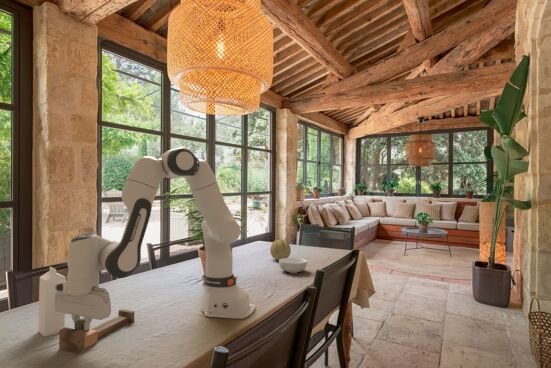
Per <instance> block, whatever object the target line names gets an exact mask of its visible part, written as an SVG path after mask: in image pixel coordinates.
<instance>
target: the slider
mask: <svg viewBox="0 0 551 368" xmlns="http://www.w3.org/2000/svg"><path fill="white" fill-rule="evenodd" d="M84 323H85V320H84V317H82V318H80V320H78V321H76V322H75V328H74V329H76V330H81V331H85V347H84V350H85V349H87V348H89V347H90V346H92V345H95V344H97V343H98V340H97V331H96V330H91V329H92V328H89V329H88V330H82V324H84Z"/></svg>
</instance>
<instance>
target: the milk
mask: <svg viewBox="0 0 551 368" xmlns="http://www.w3.org/2000/svg"><path fill="white" fill-rule="evenodd" d="M66 280H67V276H65V275H62V274H61V273H58V272H57V268H54V267H52V266H49V271H47V272H45V273H44V274H43V275H41V276H40V277H39V292H38V294H39V296H38V331H37V332H38V333H40V335H42V336H43V337H48V336H52V335H55V334H59V332H60V330H61V329H63V328H65V327H66V324H65V322H66V321H65V319H66V315H65V314H66V313H61V312H57V311H56V310H55V308H54V297H55V292H56V291H55V284H58V283H60V282H63V281H66Z"/></svg>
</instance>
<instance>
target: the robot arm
mask: <svg viewBox="0 0 551 368" xmlns="http://www.w3.org/2000/svg"><path fill="white" fill-rule="evenodd" d="M181 177H182V178H184V179H185V180H186V182H187V183H188V185H189V186H188V187H189V188H190V191H191V194H192V197H193V200H194V201H195V205H196V207H197V209H198V211H199V212H200V213H201V216H202V217H203V220H202V223H201V231H202V234H203V235H202V236H203V244H204V250H205V251H204V253H205V274H204V295H203V301H202V304H201V308H200V310H201V312H203V313H204V315H205V317H209V318H223V319H225V318H226V319H238V320H239V319H240V320H241V319H245V318H248V317H250V316H251V315H252V314H253V313H254V312H255V310H256V306H255V304H253V303H251V300H250V296H249V293H248V292H247V291H245V290H244V289H243V288H242V287H241V286H240V285H239V284H238V283H237V280H238V279H239V278H238V277H239V276H238V275H237V276H235V275H234V273H233V264H234V262H233V256H234V255H233V252H232V250H231V246H230V244H231V245H232V244H234V243H235V242H236V241H238V239H239V237H240V235H241V227H240V225H239V223H238V222H237V221H236V219H235V217H234V216H233V214H232V212H231V210H230V209H229V206H228V205H227V202H226V201H225V199H224V196H223V195H222V192H221V189H220V186H219V183H218V181H217V179H216V176H215V173H214V172H213V170H212V168H211V166H210V163H208V162H207V161H206V160H204V159H199V158H198V157H196V155H195V154H194V153H193V151H191V150H190V149H188V148H185V147H176V148H172V149H170V150H167V151H165V152H164V153H162V154H159V155H158V156H157V157H156V158H155V157H153V156H148V155H147V156H146V155H145V156H142V157H140V158H139V159H138V160H136V162H135V164H134V165H133V167H132V169H131V171H130V172H129V174H128V176H127V178H126V180H125V183H124V185H123V188H122V192H121V201H122V203H123V204H124V206H125V207H126V210H127V213H128V218H127V222H126V225H125V228H124V231H123V233H122V237H121V240H120V241H119V242H118V241H115V240H110V239H107V238H104V237H101V236H100V235H98V234H97V233H85V234H80V235H77V236H75V237H73V238H72V239H71V240H70V243H69V245H68V250H67V257H66V258H67V264H66V265H67V267H68V269H67V270H68V273H67V275H66V281H63V282H60V283H58V284H55V291H56V292H55V297H54V308H55V310H56V311H57V312H61V313H65V314H68V315H71V319H72V321H73V323H74V324H73V325H74V328H73V329H75V322H76V321H78V320H80V319H81V317H82V318H84V320H85V323H84V324H82V330H88V329H91V323H92V321H93V320H99V321H102V320H104V319H106V318H107V319H108V318H109V317H110V316H111V314H112V305H111V304H112V303H111V298H110V293H109V292H108V290H107V289H106V288H104V287H102V288H101V287H100V273H101V272H102V271H106V272H108V273H109V274H110V275H111V276H112V277H114V278H116V279H117V278H118V279H123V278H127V277H128V278H129V277H130V276H132V275H133V274H134V273H135V272H136V271H137V270H138V269H139V267H140V264H141V260H142V258H141V257H142V254H141V253H142V251H141V250H142V245H143V241H144V238H145V234H146V231H147V229H148V225H149V221H150V217H151V214H152V210H153V209H152V207H153V204H154V201H155V198H156V196H157V193H158V190H159V187H160V184H161V183H162V181H163V179H165V180H172V179H180V178H181Z"/></svg>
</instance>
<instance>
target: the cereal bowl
mask: <svg viewBox="0 0 551 368" xmlns="http://www.w3.org/2000/svg"><path fill="white" fill-rule="evenodd" d="M307 262H308V260H307V259H304V258H300V257H288V258H283V259H280V260H278V263H279V267H280V269H281V270H283V271H285V272H286V271H287V272H290V273H289V274H298V273H297V272H299V273H300V272H302V271H304V270H305V269H306V267H307V264H308V263H307ZM287 272H286V273H287Z"/></svg>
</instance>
